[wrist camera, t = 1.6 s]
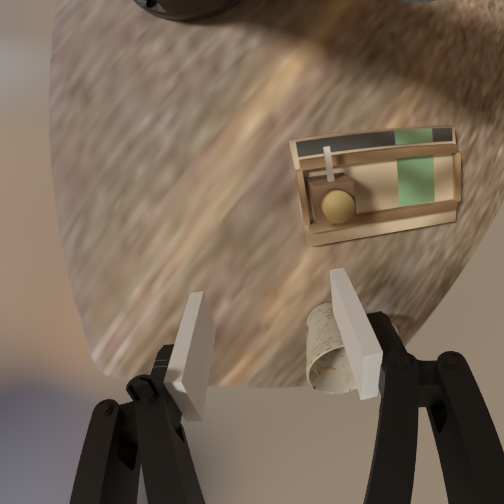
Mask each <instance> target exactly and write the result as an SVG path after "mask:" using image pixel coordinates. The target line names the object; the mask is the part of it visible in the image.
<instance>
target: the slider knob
mask: <svg viewBox="0 0 504 504" xmlns="http://www.w3.org/2000/svg"><path fill="white" fill-rule="evenodd" d="M323 151H324V158H325V165H326V172H327V174H326V175H319V176H313V177H306V179H307V186H308V192H309V199H310V207H311V213H312V215H313V217H314V219H315V221H316V223H317V225H318V226H321V225H327V224H333V223H337V224H340V223H344V222H346V221H351V220H357V214H356V202H355V191H354V181H353V180H352V179H351V178H350V177H348V176H347V175H346V174H345V173H343V172H340V173H333V165H332V158H331V151H330V146H325V147H323Z"/></svg>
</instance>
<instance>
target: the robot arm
mask: <svg viewBox="0 0 504 504" xmlns="http://www.w3.org/2000/svg"><path fill="white" fill-rule="evenodd" d="M133 1H134V2H135V3H136V4H138V5H139V6H140V7H141V8H143V9H144V10H145V11H147V12H148V13H150V14H152V15H154V16H157V17H160V18H163V19H168V20H174V21H191V20H199V19H204V18H208V17H211V16H214V15H217V14H220V13H222V12H224V11H226V10H228V9H230V8H232V7H234V6H235V5H237V4H238V3H240V2H241V1H242V0H133ZM404 1H409V2H431V1H435V0H404ZM330 279H331V292H332V306H333V313H334V316H335V319H336V322H337V325H338V328H339V331H340V334H341V337H342V340H343V344H344V347H345V350H346V353H347V356H348V359H349V363H350V366H351V369H352V372H353V376H354V379H355V382H356V386H357V389H358V392H359V395H360V399H361V400H364V399H368V398H372V397H376V396H378V390H379V391H380V394H381V403H380V409H379V421H378V428H377V435H376V441H375V448H374V454H373V460H372V465H371V470H370V476H369V480H368V485H367V490H366V495H365V499H364V503H363V504H410V503H411V496H412V489H413V481H414V472H415V462H416V449H417V434H418V407H426V409H427V412H428V416H429V419H430V423H431V426H432V431H433V434H434V438H435V442H436V446H437V450H438V454H439V458H440V463H441V468H442V472H443V477H444V482H445V486H446V491H447V497H448V503H449V504H504V452H503V449H502V446H501V443H500V440H499V438H498V435H497V432H496V429H495V426H494V424H493V421H492V419H491V417H490V414H489V411H488V409H487V406H486V404H485V402H484V399H483V397H482V394H481V392H480V390H479V387H478V385H477V383H476V381H475V378H474V376H473V374H472V372H471V370H470V368H469V365H468V363H467V361H466V360H465V358H464V357H463V355H461V354H460V353H458V352H454V351H447V352H444V353H442V354H441V355H440V356H439V357H438V359H437V361H420V360H417V359H416V358H415V357H414V356H413V355H411V354H409V353H407V351H406V349H405V347H404V345H403V343H402V341H401V339H400V338H399V336H398V334H397V332H396V331H395V328H394V326H393V325H392V322H391V321H390V319H389V317H388V316H387V315H385V314H384V313H383V312H381V311H379V312H375V313H370V314H366V313H365V311H364V309H363V307H362V305H361V303H360V301H359V299H358V296H357V294H356V292H355V290H354V288H353V286H352V284H351V282H350V280H349V278H348V276H347V274H346V272H345V270H344V268H339V269H334V270H330ZM215 333H216V328H215V325H214V322H213V319H212V316H211V313H210V310H209V307H208V304H207V301H206V297H205V294H204V291H201V292H194V293H190V296H189V299H188V302H187V305H186V308H185V312H184V315H183V318H182V321H181V325H180V328H179V331H178V334H177V338H176V341H175V344H171V345H164V346H163V347H162V348H161V349H160V351H159V352H158V354H157V357H156V362H155V363H154V366H153V367H154V368H153V369H152V372H151V375H146V374H144V375H139V376H136V377H134V378H133V379H132V380H130V381H129V383H128V384H127V387H126V391H127V392H128V394H129V395H130V397H131V398H132V400H133V401H132V402H129V403H125V404H121V405H119V404H118V403H117V402H116V401H115V400H112V399H107V400H103V401H101V402H99V403H98V404H97V405H96V406H95V408H94V410H93V413H92V417H91V420H90V424H89V427H88V431H87V434H86V438H85V441H84V445H83V449H82V453H81V456H80V461H79V464H78V468H77V473H76V477H75V481H74V486H73V490H72V495H71V499H70V504H136V503H137V494H138V484H139V476H140V467H141V465H142V471H143V477H144V483H145V489H146V495H147V500H148V504H205V501H204V498H203V495H202V491H201V488H200V485H199V482H198V479H197V475H196V472H195V468H194V465H193V461H192V458H191V455H190V450H189V447H188V443H187V440H186V436H185V432H184V428H183V426H182V424H181V423H180V421H181V417H182V415H183V417H184V419H185V420H186V421H202V419H203V412H204V405H205V398H206V392H207V385H208V378H209V372H210V365H211V359H212V352H213V346H214V339H215Z"/></svg>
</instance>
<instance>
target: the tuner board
mask: <svg viewBox="0 0 504 504" xmlns="http://www.w3.org/2000/svg"><path fill="white" fill-rule="evenodd" d="M289 143H290V148H291V154H292V160H293V166H294V172H295V178H296V184H297V191H298V197H299V204H300V210H301V217H302V224H303V231H304V238H305V243H306V246H307V247H310V246H316V245H322V244H328V243H334V242H339V241H345V240H351V239H357V238H362V237H368V236H374V235H380V234H385V233H391V232H397V231H402V230H408V229H414V228H419V227H425V226H431V225H436V224H442V223H448V222H453V221H456V209H457V206H458V201H461V153H460V152H457V144H456V141H455V127H454V126H448V125H446V126H420V127H403V128H389V129H377V130H366V131H356V132H347V133H339V134H330V135H323V136H315V137H308V138H301V139H295V140H289ZM325 146H330V151H331V158H332V165H333V173H340V172H343V173H345V174H346V175H347V176H348V177H350V178H351V179H352V180H353V181H354V191H355V202H356V214H357V220H351V221H346V222H344V223H340V224H337V223H333V224H327V225H321V226H318V225H317V223H316V221H315V219H314V217H313V215H312V213H311V207H310V199H309V192H308V186H307V179H306V177H313V176H319V175H326V174H327V172H326V165H325V158H324V151H323V147H325Z"/></svg>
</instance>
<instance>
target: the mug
mask: <svg viewBox="0 0 504 504" xmlns="http://www.w3.org/2000/svg"><path fill="white" fill-rule="evenodd" d="M392 325H393V326H394V328H395V331H396V332H397V334H398V336H399V332H398V329H397V327H396V326H395V325H394V324H393V323H392ZM306 372H307V379H308V382H309V384H310V385H311V386H312V387H313V388H314V389H315V390H317V391H319V392H322V393H326V394H340V393H345V392H349V391H351V390H354V389H356V388H357V386H356V382H355V379H354V376H353V372H352V369H351V366H350V363H349V359H348V356H347V353H346V350H345V347H344V344H343V340H342V337H341V334H340V331H339V328H338V325H337V322H336V319H335V316H334V313H333V306H332V302H329V303H324V304H321V305H319V306H317V307H316V308H314V309H313V310H312V311H311V312H310V314H309V316H308V318H307V369H306Z"/></svg>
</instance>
